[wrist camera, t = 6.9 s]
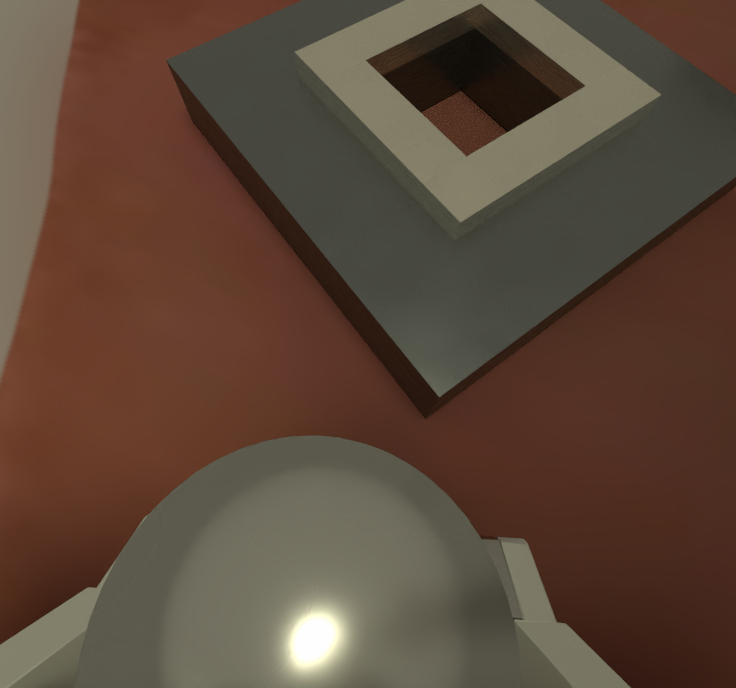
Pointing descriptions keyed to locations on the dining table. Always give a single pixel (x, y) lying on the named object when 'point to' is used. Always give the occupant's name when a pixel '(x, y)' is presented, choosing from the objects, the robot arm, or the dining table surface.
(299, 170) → the grey square socket base
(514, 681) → the steel shaft
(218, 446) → the dining table surface
